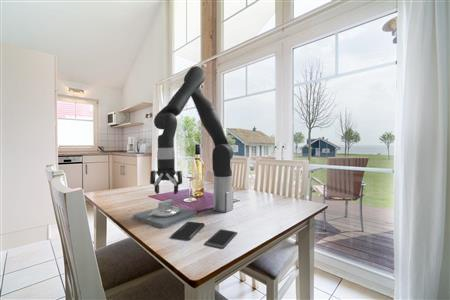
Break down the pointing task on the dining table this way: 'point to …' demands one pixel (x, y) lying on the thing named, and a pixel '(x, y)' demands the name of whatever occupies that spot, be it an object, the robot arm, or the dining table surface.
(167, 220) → the dial base
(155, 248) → the dining table surface
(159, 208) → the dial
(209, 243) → the cell phone
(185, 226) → the phone
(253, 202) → the dining table surface
